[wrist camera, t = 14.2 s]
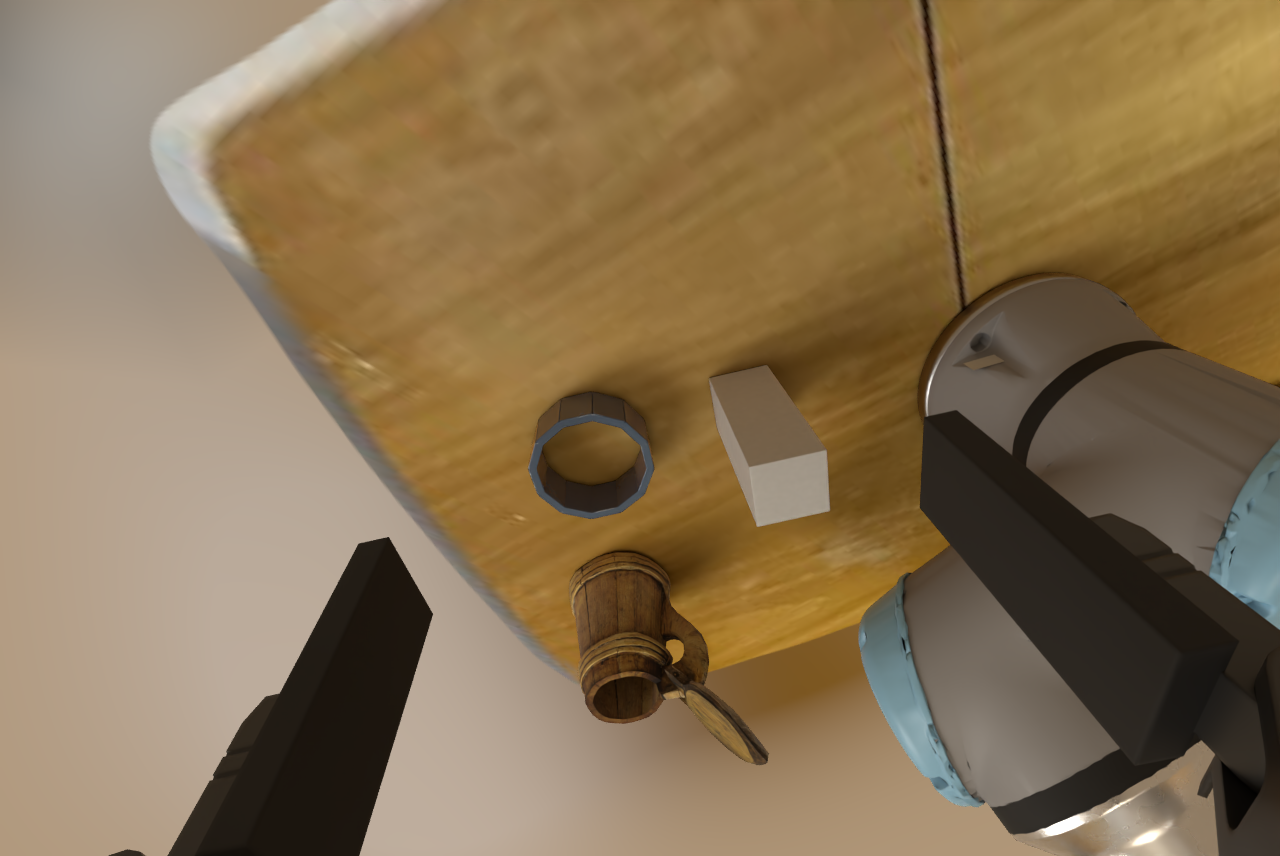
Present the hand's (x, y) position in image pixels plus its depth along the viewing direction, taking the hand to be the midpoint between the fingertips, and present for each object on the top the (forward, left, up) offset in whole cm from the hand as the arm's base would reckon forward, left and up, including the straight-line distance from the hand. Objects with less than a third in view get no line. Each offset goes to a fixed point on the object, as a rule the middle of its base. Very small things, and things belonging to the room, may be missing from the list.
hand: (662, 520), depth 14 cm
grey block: (-7, +12, -27) cm, 30 cm away
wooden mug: (+4, +28, -27) cm, 39 cm away
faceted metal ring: (+5, +13, -27) cm, 30 cm away
